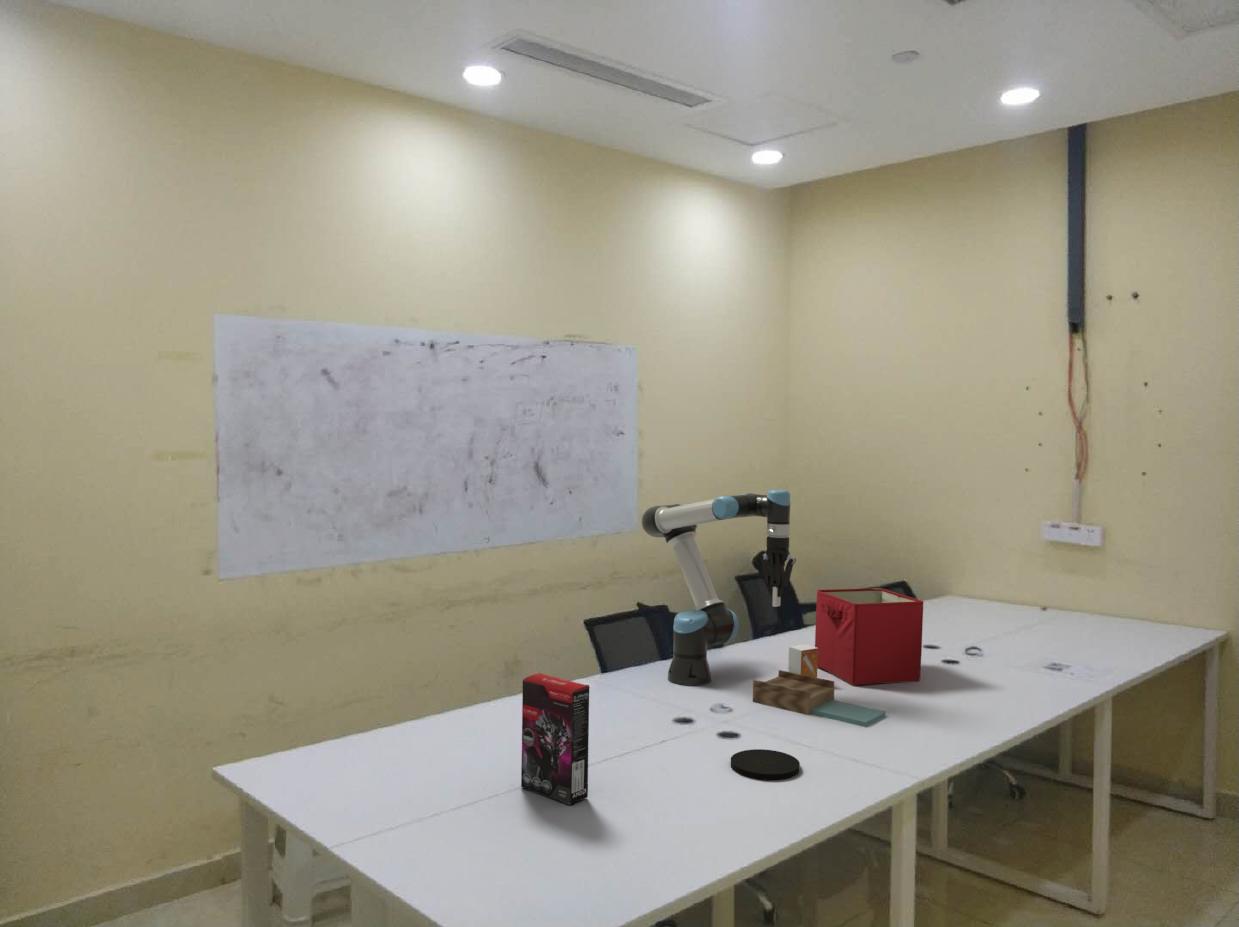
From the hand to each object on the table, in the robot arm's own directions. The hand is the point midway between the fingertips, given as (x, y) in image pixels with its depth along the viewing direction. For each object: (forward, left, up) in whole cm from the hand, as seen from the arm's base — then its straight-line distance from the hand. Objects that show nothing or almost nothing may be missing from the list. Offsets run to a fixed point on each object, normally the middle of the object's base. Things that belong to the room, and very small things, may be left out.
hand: (776, 605), depth 314 cm
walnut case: (+12, -8, -28) cm, 32 cm away
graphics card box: (+6, -113, -29) cm, 117 cm away
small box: (+4, +12, -29) cm, 31 cm away
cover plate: (+31, -8, -29) cm, 43 cm away
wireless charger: (+35, -64, -29) cm, 79 cm away
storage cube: (+14, +40, -29) cm, 51 cm away
